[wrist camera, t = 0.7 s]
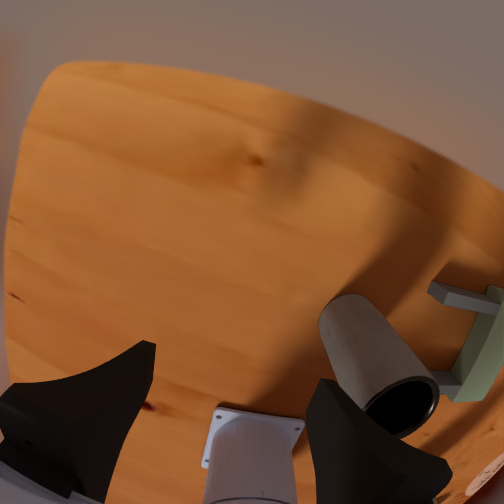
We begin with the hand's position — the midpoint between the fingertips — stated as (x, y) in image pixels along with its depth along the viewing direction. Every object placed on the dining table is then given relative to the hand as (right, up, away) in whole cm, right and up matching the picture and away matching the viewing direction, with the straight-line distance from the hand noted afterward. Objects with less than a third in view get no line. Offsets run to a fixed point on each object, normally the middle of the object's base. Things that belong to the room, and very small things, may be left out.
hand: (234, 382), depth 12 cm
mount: (+18, -2, +10) cm, 21 cm away
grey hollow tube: (+8, 0, +10) cm, 12 cm away
